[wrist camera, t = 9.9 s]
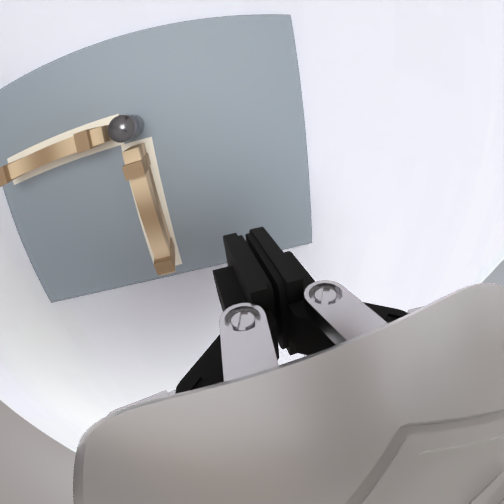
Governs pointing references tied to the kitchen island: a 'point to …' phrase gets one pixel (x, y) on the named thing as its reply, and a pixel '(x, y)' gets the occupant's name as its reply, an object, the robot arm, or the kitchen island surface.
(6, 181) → the fixed fence rail
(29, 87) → the board
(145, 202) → the tan wooden bar
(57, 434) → the kitchen island surface
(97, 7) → the kitchen island surface
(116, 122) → the fence post
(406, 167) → the kitchen island surface
